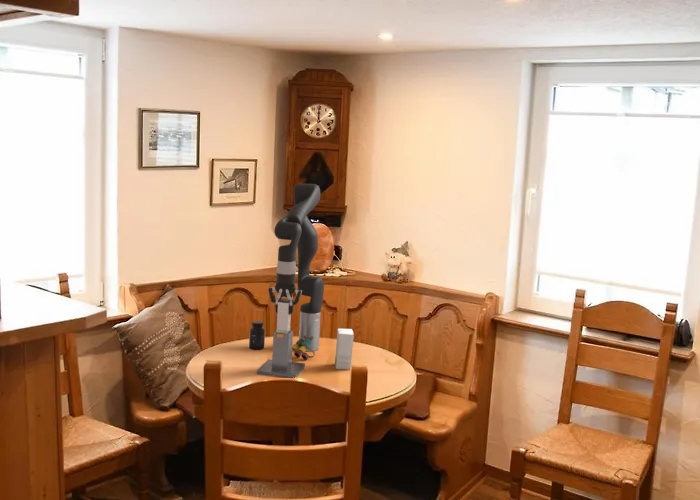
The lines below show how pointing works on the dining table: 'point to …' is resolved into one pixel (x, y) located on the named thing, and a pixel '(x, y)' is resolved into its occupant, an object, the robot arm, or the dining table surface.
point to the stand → (281, 358)
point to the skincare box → (344, 349)
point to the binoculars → (302, 347)
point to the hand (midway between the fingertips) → (284, 313)
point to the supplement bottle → (257, 336)
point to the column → (283, 317)
